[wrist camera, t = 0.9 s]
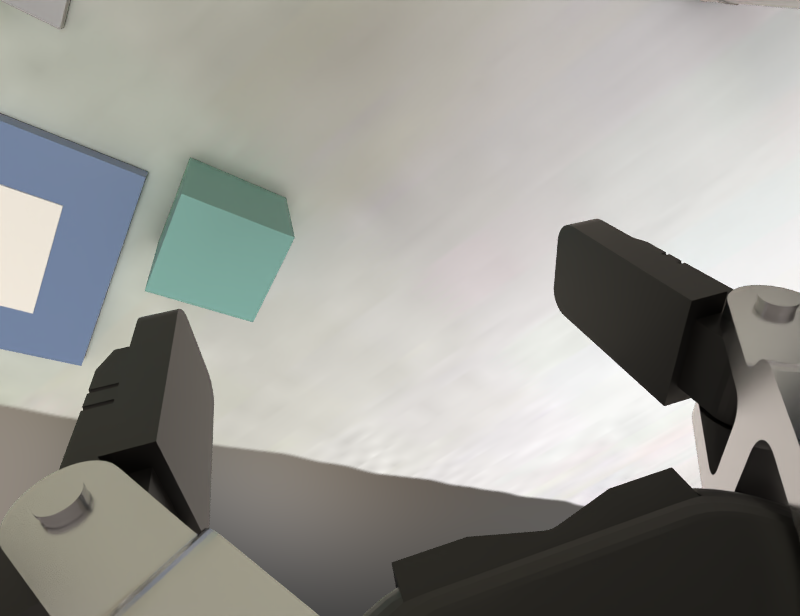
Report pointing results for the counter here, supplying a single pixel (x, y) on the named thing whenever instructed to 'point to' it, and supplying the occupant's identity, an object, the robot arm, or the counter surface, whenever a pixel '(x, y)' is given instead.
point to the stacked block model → (44, 10)
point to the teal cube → (221, 243)
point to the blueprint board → (58, 238)
